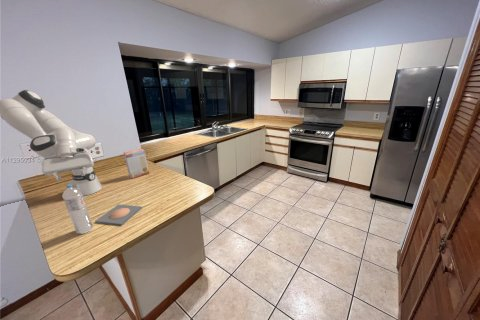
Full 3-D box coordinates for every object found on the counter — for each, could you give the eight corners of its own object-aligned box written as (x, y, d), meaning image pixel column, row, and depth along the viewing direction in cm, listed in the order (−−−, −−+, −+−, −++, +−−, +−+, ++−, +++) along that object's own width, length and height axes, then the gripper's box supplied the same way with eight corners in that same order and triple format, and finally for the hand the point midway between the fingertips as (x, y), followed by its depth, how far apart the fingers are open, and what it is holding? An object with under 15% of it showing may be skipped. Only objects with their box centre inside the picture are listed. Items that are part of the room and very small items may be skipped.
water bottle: (82, 226, 101) (66, 182, 92) (96, 225, 101) (81, 181, 93) (72, 235, 94) (54, 189, 86) (87, 234, 95) (71, 188, 86)
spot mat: (95, 222, 103) (94, 220, 103) (118, 205, 118) (118, 204, 118) (121, 225, 100) (121, 223, 100) (142, 208, 115) (141, 206, 115)
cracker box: (146, 171, 168) (142, 148, 161) (149, 173, 164) (144, 149, 157) (129, 177, 159) (123, 152, 152) (131, 179, 155) (125, 153, 148)
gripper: (38, 155, 95) (40, 180, 91) (89, 147, 106) (94, 170, 101) (43, 161, 100) (46, 185, 96) (92, 153, 111) (96, 175, 106)
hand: (71, 177), depth 99 cm, fingers open, 8 cm apart
